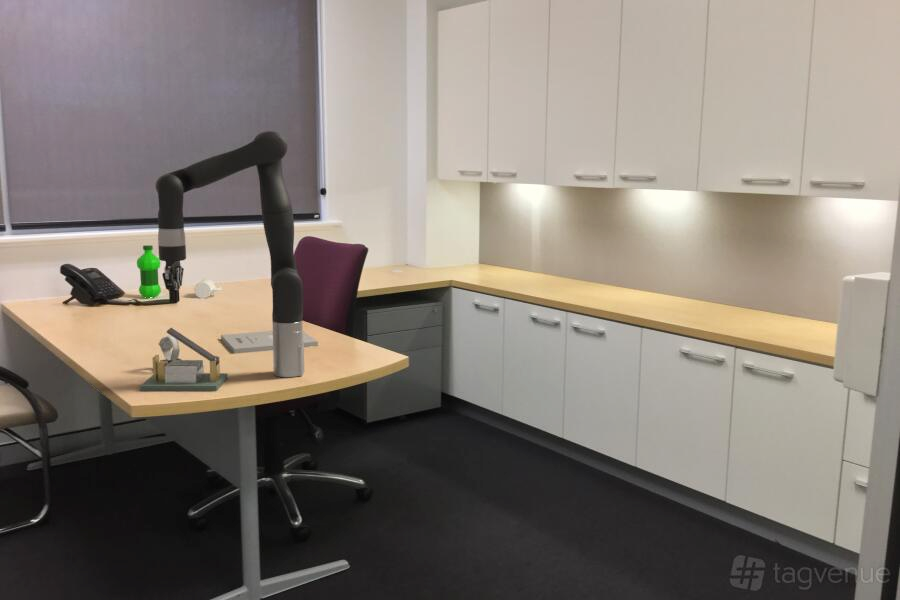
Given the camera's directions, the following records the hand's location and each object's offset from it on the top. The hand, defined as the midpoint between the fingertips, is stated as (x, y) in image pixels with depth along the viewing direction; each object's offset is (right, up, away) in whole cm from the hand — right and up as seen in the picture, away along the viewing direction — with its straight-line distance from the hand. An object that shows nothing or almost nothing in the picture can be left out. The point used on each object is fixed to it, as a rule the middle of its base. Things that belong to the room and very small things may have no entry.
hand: (174, 302), depth 238 cm
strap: (+4, -14, +3) cm, 14 cm away
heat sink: (+2, -23, +4) cm, 24 cm away
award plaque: (+14, -16, +60) cm, 64 cm away
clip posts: (+2, -23, +4) cm, 24 cm away
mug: (-36, +2, +155) cm, 159 cm away
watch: (-8, -22, +21) cm, 31 cm away
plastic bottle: (-63, +2, +149) cm, 162 cm away
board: (+2, -25, +4) cm, 25 cm away
